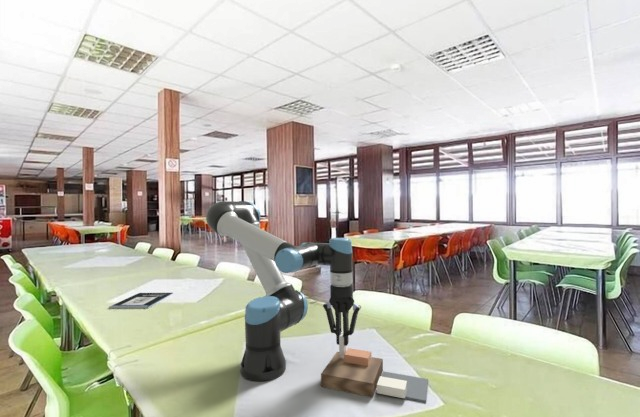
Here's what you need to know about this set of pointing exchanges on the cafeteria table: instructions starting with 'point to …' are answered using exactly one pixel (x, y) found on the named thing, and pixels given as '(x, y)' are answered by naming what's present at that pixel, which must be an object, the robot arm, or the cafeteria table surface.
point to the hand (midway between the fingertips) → (342, 354)
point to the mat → (411, 386)
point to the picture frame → (141, 301)
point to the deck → (352, 376)
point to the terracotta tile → (357, 356)
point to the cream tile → (392, 387)
